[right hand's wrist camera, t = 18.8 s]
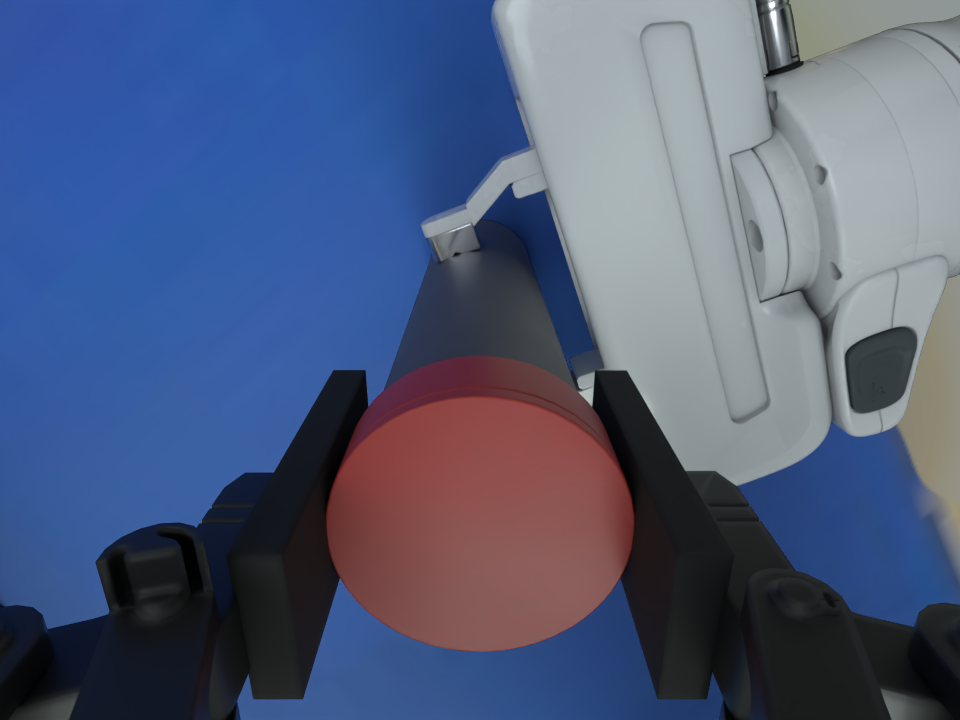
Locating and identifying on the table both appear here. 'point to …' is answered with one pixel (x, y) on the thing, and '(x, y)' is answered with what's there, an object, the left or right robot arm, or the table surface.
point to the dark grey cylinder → (481, 310)
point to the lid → (480, 506)
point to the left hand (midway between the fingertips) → (459, 317)
